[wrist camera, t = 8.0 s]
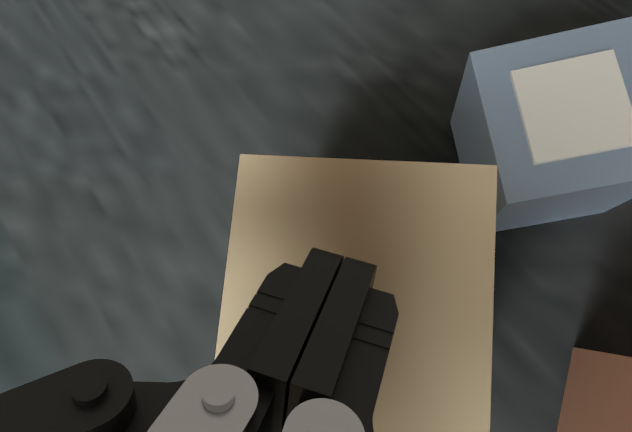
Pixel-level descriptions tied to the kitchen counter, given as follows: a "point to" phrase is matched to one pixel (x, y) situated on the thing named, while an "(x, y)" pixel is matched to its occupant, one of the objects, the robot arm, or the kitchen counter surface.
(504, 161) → the blue label block
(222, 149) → the kitchen counter surface
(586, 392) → the terracotta label block
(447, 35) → the kitchen counter surface
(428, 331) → the plain block
